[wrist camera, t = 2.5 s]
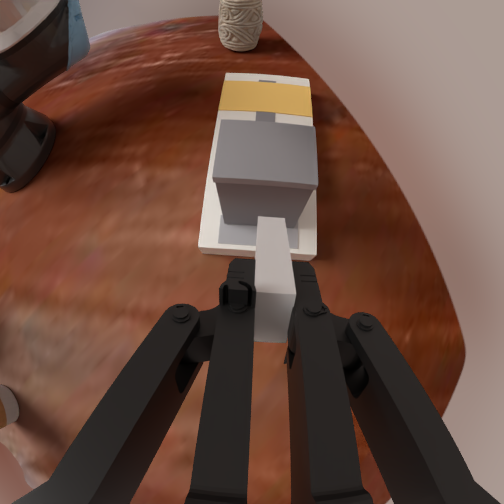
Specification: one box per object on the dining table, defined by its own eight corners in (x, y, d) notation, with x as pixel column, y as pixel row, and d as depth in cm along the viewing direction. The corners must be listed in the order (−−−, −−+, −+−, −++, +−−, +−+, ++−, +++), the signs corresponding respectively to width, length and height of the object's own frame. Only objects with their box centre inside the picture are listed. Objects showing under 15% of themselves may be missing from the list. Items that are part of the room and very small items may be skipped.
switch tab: (294, 229, 28) (318, 184, 18) (223, 224, 28) (211, 177, 18) (295, 183, 29) (315, 126, 19) (228, 178, 29) (221, 119, 19)
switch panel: (310, 260, 31) (316, 254, 28) (202, 253, 31) (197, 246, 28) (305, 92, 37) (309, 78, 33) (226, 86, 37) (225, 72, 33)
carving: (265, 52, 39) (268, -2, 27) (222, 56, 38) (218, 1, 27) (257, 35, 40) (259, -14, 29) (218, 39, 40) (214, -11, 28)
